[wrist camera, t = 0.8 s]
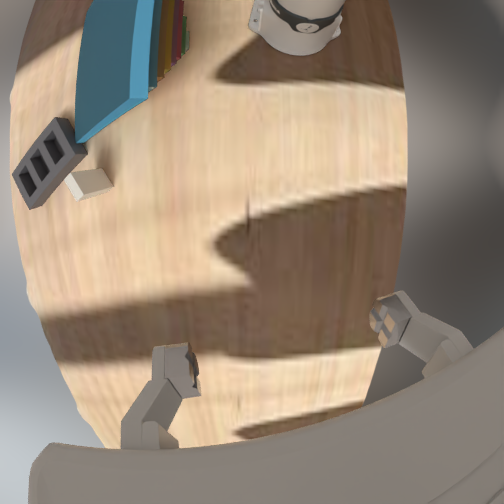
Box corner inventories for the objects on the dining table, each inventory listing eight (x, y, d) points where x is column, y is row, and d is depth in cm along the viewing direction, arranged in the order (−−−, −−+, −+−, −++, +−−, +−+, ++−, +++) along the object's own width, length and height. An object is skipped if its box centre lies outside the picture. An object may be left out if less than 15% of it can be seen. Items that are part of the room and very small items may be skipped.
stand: (24, 172, 49) (11, 174, 44) (67, 118, 46) (55, 117, 41) (42, 205, 52) (29, 210, 47) (87, 154, 49) (75, 154, 44)
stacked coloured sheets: (144, 136, 58) (249, 107, 35) (75, 144, 47) (129, 98, 23) (149, 17, 47) (243, -54, 24) (86, 12, 35) (158, -84, 12)
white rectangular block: (95, 174, 50) (63, 179, 39) (102, 168, 50) (70, 172, 39) (107, 192, 52) (77, 201, 40) (113, 186, 51) (83, 194, 40)
